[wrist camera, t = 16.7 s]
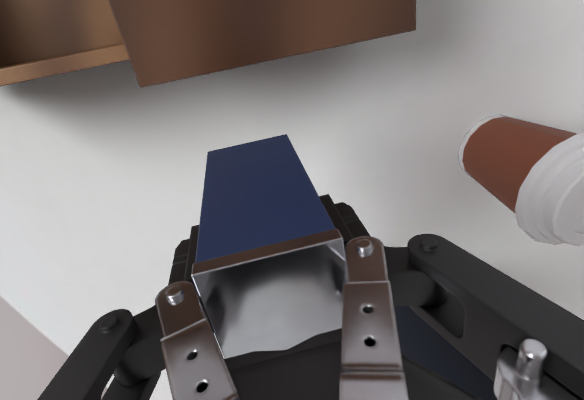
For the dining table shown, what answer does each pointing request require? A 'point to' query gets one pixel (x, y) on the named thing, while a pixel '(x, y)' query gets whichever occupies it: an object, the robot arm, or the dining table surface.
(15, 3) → the drawer
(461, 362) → the black bottle
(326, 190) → the dining table surface
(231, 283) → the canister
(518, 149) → the coffee cup
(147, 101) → the dining table surface
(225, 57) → the cabinet
